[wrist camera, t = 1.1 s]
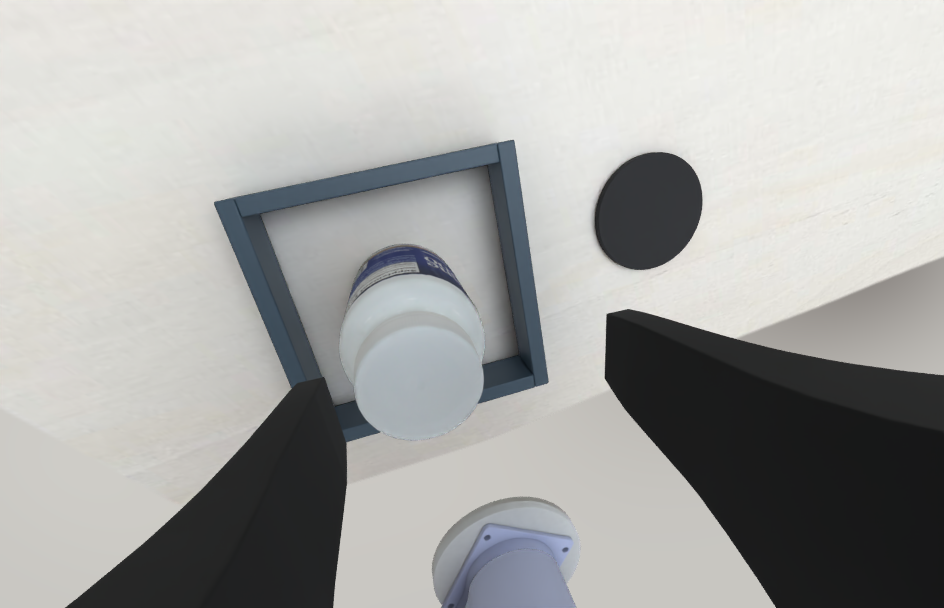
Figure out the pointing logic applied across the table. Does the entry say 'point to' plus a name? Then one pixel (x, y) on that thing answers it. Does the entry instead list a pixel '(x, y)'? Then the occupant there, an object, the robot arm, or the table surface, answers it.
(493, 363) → the square picture frame
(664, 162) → the coaster
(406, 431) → the pill bottle
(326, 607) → the robot arm
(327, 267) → the table surface
